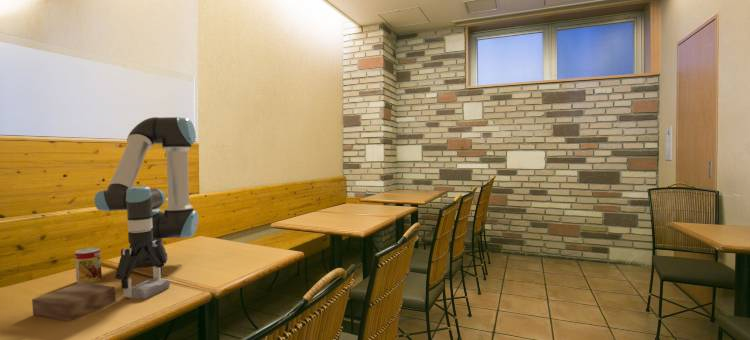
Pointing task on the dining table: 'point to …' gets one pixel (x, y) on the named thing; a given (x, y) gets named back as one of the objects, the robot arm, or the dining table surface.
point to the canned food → (88, 265)
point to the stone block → (149, 288)
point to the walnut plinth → (73, 301)
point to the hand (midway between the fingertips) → (143, 290)
